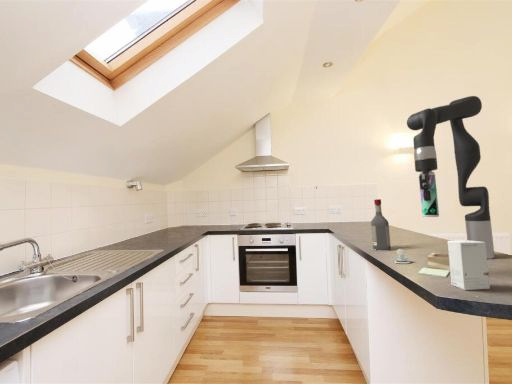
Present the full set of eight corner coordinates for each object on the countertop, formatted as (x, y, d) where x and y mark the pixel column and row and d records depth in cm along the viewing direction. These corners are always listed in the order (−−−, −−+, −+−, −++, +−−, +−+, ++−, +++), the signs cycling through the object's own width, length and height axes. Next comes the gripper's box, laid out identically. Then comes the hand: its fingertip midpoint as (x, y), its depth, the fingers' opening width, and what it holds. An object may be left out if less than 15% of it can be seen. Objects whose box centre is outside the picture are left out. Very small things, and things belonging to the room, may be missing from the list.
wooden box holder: (433, 264, 112) (432, 252, 113) (460, 266, 106) (459, 254, 106) (428, 268, 105) (427, 256, 106) (457, 272, 99) (456, 259, 99)
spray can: (423, 216, 105) (418, 168, 107) (439, 216, 102) (434, 167, 103) (421, 217, 101) (417, 167, 103) (438, 216, 98) (433, 165, 99)
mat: (423, 268, 106) (423, 267, 106) (449, 271, 100) (449, 270, 100) (417, 273, 100) (417, 272, 100) (446, 277, 93) (446, 275, 93)
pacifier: (411, 265, 114) (409, 261, 119) (410, 251, 114) (408, 248, 120) (393, 264, 117) (392, 261, 122) (392, 250, 117) (391, 248, 123)
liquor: (389, 248, 155) (385, 199, 156) (391, 250, 146) (386, 198, 148) (372, 247, 158) (368, 199, 160) (373, 250, 149) (369, 199, 151)
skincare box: (464, 290, 79) (459, 242, 80) (450, 284, 85) (445, 240, 86) (491, 289, 79) (486, 241, 80) (475, 283, 85) (470, 238, 86)
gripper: (418, 162, 111) (422, 201, 110) (410, 158, 101) (413, 201, 99) (439, 159, 106) (443, 200, 104) (432, 155, 95) (437, 200, 94)
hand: (429, 200), depth 102 cm, fingers closed on spray can, 5 cm apart
